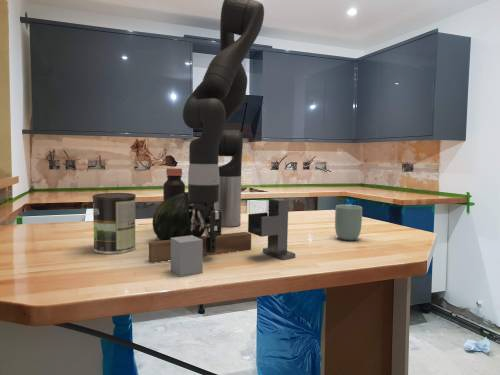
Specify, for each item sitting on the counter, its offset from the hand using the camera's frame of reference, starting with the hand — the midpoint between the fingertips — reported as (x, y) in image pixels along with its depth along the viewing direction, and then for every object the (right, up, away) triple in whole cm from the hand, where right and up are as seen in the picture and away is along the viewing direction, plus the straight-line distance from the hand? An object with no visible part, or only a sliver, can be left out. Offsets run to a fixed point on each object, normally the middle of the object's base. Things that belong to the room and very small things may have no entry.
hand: (203, 248), depth 91 cm
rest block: (-2, -3, -13) cm, 13 cm away
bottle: (-13, +1, +28) cm, 31 cm away
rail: (0, -2, 0) cm, 2 cm away
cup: (+41, -1, +20) cm, 46 cm away
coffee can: (-23, -1, +4) cm, 23 cm away
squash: (-8, 0, +14) cm, 16 cm away
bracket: (+16, -2, -1) cm, 17 cm away
